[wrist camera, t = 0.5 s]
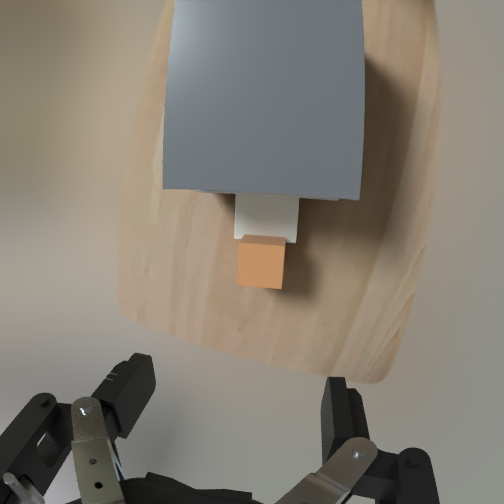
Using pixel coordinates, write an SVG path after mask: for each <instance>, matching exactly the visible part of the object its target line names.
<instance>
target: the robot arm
mask: <svg viewBox="0 0 504 504" xmlns="http://www.w3.org/2000/svg"><path fill="white" fill-rule="evenodd" d="M155 386H156V379H155V374H154V368H153V363H152V358H151V356H150V355H145V354H139V353H134V354H133V355H132V356H131V358H130V359H129V360H128V361H122V362H121V363H119V364H117V365H116V366H115V367H114V368H113V370H112V371H111V372H110V374H108V375H107V377H106V379H104V381H103V382H102V383H101V384H100V385H99V387H98V388H97V389H96V390H95V392H94V393H93V394H92V396H91V397H82V398H79V399H77V400H76V401H74V402H73V404H64V403H57V401H56V398H55V397H54V395H52V394H50V393H39V394H37V395H35V396H34V397H33V398H32V399H31V400H30V401H29V402H28V403H27V405H26V406H25V407H24V408H23V409H22V410H21V412H20V413H19V414H18V415H17V416H16V418H15V419H14V420H13V421H12V422H11V424H10V425H9V426H8V427H7V428H6V430H5V431H4V432H3V433H2V435H1V436H0V504H45V501H44V498H43V496H44V495H45V493H46V491H47V489H48V488H49V486H50V484H51V482H52V481H53V479H54V478H55V476H56V474H57V473H58V471H59V469H60V468H61V466H62V464H63V463H64V461H65V459H66V458H67V456H68V454H69V453H70V451H71V450H72V453H73V459H74V465H75V471H76V476H77V481H78V487H79V491H80V496H81V498H79V499H77V500H74V501H72V502H69V503H66V504H263V503H260V502H258V501H256V500H253V499H252V493H251V492H243V491H235V490H228V489H208V490H207V489H205V490H199V489H194V488H192V487H190V486H187V485H185V484H183V483H181V482H179V481H177V480H175V479H173V478H169V477H165V476H162V475H158V474H154V473H151V472H148V473H147V475H146V477H145V478H130V479H127V477H126V475H125V473H124V469H123V466H122V463H121V460H120V456H119V453H118V450H117V447H116V443H115V439H116V438H117V436H119V437H122V438H124V439H126V438H127V437H128V435H129V433H130V432H131V430H132V428H133V426H134V425H135V423H136V421H137V420H138V418H139V416H140V415H141V413H142V411H143V410H144V408H145V406H146V404H147V403H148V401H149V399H150V398H151V396H152V394H153V393H154V390H155ZM321 432H322V467H321V468H320V469H319V470H318V471H317V472H316V473H310V474H308V475H307V476H306V477H305V478H303V479H302V480H301V481H300V482H299V483H298V484H297V485H296V486H295V487H293V489H291V490H290V491H289V492H288V493H287V494H285V495H284V496H283V497H282V498H281V499H280V500H278V501H277V502H276V503H275V504H347V503H348V501H349V500H350V499H351V498H352V497H353V496H354V495H358V496H362V497H367V498H372V499H375V504H440V503H439V497H438V492H437V487H436V482H435V478H434V473H433V469H432V465H431V460H430V457H429V455H428V454H427V453H426V452H425V451H423V450H422V449H419V448H407V449H405V450H403V451H402V452H400V454H394V453H389V452H384V451H381V450H379V449H378V448H377V447H376V445H375V444H374V443H373V442H372V441H370V437H369V432H368V427H367V421H366V417H365V414H364V407H363V402H362V397H361V395H360V394H359V393H358V392H357V390H356V389H355V388H354V389H353V388H352V389H350V388H347V387H346V381H345V377H327V381H326V385H325V391H324V395H323V399H322V404H321ZM44 433H45V437H44V438H43V439H42V441H41V442H40V444H39V445H38V446H37V444H38V442H39V440H40V439H41V438H42V436H43V435H44Z"/></svg>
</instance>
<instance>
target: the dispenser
mask: <svg viewBox="0 0 504 504" xmlns="http://www.w3.org/2000/svg"><path fill="white" fill-rule="evenodd" d="M364 115H365V54H364V29H363V13H362V0H175V7H174V14H173V22H172V30H171V39H170V49H169V59H168V70H167V83H166V98H165V116H164V141H163V189H190V190H196V192H205V193H229V194H249V195H267V196H282V197H296V198H309V199H321V200H332V201H338V200H339V198H340V199H350V200H359V198H360V187H361V174H362V160H363V142H364Z"/></svg>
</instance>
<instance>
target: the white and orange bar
mask: <svg viewBox="0 0 504 504" xmlns="http://www.w3.org/2000/svg"><path fill="white" fill-rule="evenodd" d="M298 210H299V198H296V197H282V196H267V195H249V194H236V196H235V230H234V239H241V240H240V242H239V253H238V285H241V286H251V287H263V288H274V289H282V281H283V273H284V261H285V248H286V242H288V243H296V237H297V224H298Z"/></svg>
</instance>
